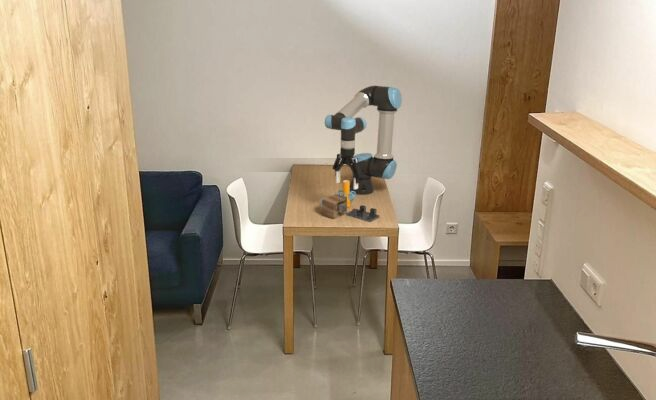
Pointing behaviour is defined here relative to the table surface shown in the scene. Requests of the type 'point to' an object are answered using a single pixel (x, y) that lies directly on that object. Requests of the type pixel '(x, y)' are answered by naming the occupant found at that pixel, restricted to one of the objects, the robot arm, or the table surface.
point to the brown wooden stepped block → (333, 206)
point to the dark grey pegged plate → (363, 214)
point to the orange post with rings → (347, 192)
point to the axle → (340, 206)
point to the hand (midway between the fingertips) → (346, 185)
